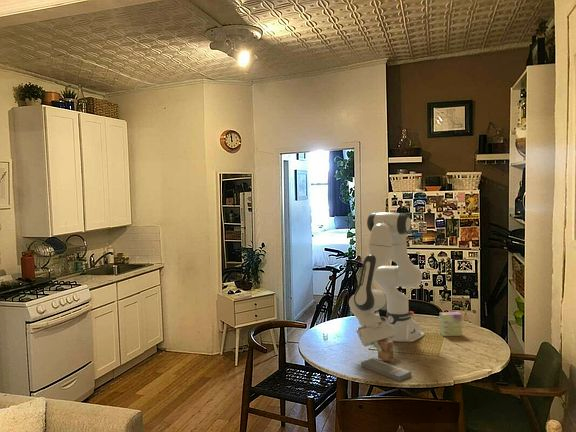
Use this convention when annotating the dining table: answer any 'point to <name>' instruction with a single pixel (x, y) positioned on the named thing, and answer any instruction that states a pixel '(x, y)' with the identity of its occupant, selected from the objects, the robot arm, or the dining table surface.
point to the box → (450, 323)
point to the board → (386, 369)
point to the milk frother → (383, 310)
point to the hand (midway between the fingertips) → (386, 349)
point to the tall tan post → (386, 350)
